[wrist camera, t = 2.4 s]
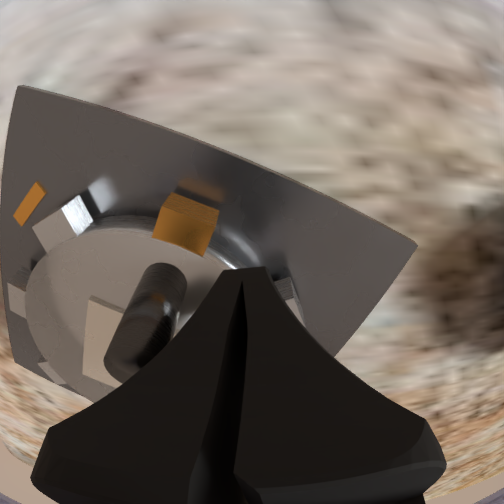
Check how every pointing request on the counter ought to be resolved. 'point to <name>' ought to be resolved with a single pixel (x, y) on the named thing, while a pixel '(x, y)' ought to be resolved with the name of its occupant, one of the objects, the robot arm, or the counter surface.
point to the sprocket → (119, 289)
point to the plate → (195, 188)
